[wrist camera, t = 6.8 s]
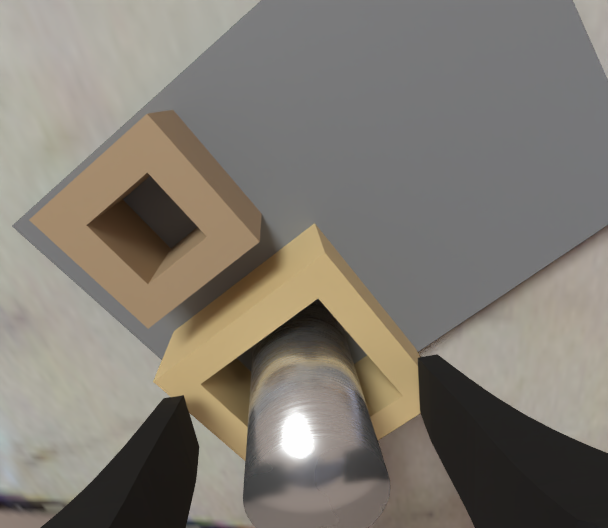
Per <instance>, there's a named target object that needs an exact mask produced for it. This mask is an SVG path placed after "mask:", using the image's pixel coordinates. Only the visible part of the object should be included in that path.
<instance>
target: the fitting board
mask: <svg viewBox="0 0 608 528" xmlns="http://www.w3.org/2000/svg"><path fill="white" fill-rule="evenodd" d="M607 225H608V80H607V77H606V75H605V73H604V71H603V68H602V66H601V64H600V61H599V59H598V57H597V55H596V52H595V50H594V48H593V45H592V43H591V41H590V39H589V36H588V34H587V32H586V30H585V27H584V25H583V23H582V20H581V18H580V16H579V14H578V11H577V9H576V7H575V5H574V2H573V0H261V1H260V2H259V3H258V4H257V5H256V6H255V7H253V8H252V9H251V10H250V11H249V12H248V13H247V14H246V15H245V16H243V17H242V18H241V19H240V20H239V21H238V22H237V23H236V24H235V25H234V26H232V27H231V28H230V29H229V30H228V31H227V32H226V33H225V34H224V35H222V36H221V37H220V38H219V39H218V40H217V41H216V42H215V43H214V44H213V45H211V46H210V47H209V48H208V49H207V50H206V51H205V52H204V53H203V54H201V55H200V56H199V57H198V58H197V59H196V60H195V61H194V62H193V63H192V64H190V65H189V66H188V67H187V68H186V69H185V70H184V71H183V72H182V73H180V74H179V75H178V76H177V77H176V78H175V79H174V80H173V81H172V82H171V83H169V84H168V85H167V86H166V87H165V88H164V89H163V90H162V91H161V92H159V93H158V94H157V95H156V96H155V97H154V98H153V99H152V100H151V101H150V102H148V103H147V104H146V105H145V106H144V107H143V108H142V109H141V110H140V111H138V112H137V113H136V114H135V115H134V116H133V117H132V118H131V119H130V120H129V121H127V122H126V123H125V124H124V125H123V126H122V127H121V128H120V129H119V130H117V131H116V132H115V133H114V134H113V135H112V136H111V137H110V138H109V139H108V140H106V141H105V142H104V143H103V144H102V145H101V146H100V147H99V148H98V149H96V150H95V151H94V152H93V153H92V154H91V155H90V156H89V157H88V158H87V159H85V160H84V161H83V162H82V163H81V164H80V165H79V166H78V167H77V168H75V169H74V170H73V171H72V172H71V173H70V174H69V175H68V176H67V177H66V178H64V179H63V180H62V181H61V182H60V183H59V184H58V185H57V186H56V187H54V188H53V189H52V190H51V191H50V192H49V193H48V194H47V195H46V196H45V197H43V198H42V199H41V200H40V201H39V202H38V203H37V204H36V205H35V206H33V207H32V208H31V209H30V210H29V211H28V212H27V213H26V214H25V215H24V216H22V217H21V218H20V219H19V220H18V221H17V222H16V223H15V224H14V225H12V227H13V228H15V229H16V230H17V231H18V232H19V233H20V234H21V235H22V236H24V237H25V238H26V239H27V240H28V241H29V242H30V243H31V244H32V245H34V246H35V247H36V248H37V249H38V250H39V251H40V252H41V253H43V254H44V255H45V256H46V257H47V258H48V259H49V260H50V261H52V262H53V263H54V264H55V265H56V266H57V267H58V268H59V269H60V270H62V271H63V272H64V273H65V274H66V275H67V276H68V277H69V278H71V279H72V280H73V281H74V282H75V283H76V284H77V285H78V286H80V287H81V288H82V289H83V290H84V291H85V292H86V293H87V294H88V295H90V296H91V297H92V298H93V299H94V300H95V301H96V302H97V303H99V304H100V305H101V306H102V307H103V308H104V309H105V310H106V311H108V312H109V313H110V314H111V315H112V316H113V317H114V318H115V319H116V320H118V321H119V322H120V323H121V324H122V325H123V326H124V327H125V328H127V329H128V330H129V331H130V332H131V333H132V334H133V335H134V336H136V337H137V338H138V339H139V340H140V341H141V342H142V343H143V344H144V345H146V346H147V347H148V348H149V349H150V350H151V351H152V352H153V353H155V354H156V355H157V356H158V357H159V358H160V359H161V360H162V361H161V364H160V366H159V369H158V371H157V374H156V376H155V379H154V381H153V382H154V383H155V384H157V385H158V386H159V387H160V388H161V389H162V390H163V391H165V392H166V393H167V394H168V395H169V396H170V397H176V396H182V395H184V398H185V401H186V404H187V408H188V411H189V413H190V414H191V415H192V416H194V417H195V418H196V419H197V420H198V421H199V422H201V423H202V424H203V425H204V426H205V427H206V428H208V429H209V430H210V431H211V432H212V433H213V434H215V435H216V436H217V437H218V438H219V439H220V440H221V441H223V442H224V443H225V444H226V445H227V446H228V447H230V448H231V449H232V450H233V451H234V452H235V453H237V454H238V455H239V456H240V457H241V458H242V459H244V460H245V461H246V445H247V430H248V415H249V399H250V384H251V369H252V354H253V345H255V344H256V343H258V342H259V341H260V340H262V339H263V338H264V337H266V336H267V335H269V334H270V333H271V332H273V331H274V330H275V329H277V328H278V327H280V326H281V325H282V324H284V323H285V322H286V321H288V320H289V319H291V318H292V317H293V316H295V315H296V314H297V313H299V312H300V311H301V310H303V309H304V308H306V307H307V306H308V305H310V304H311V303H312V302H314V301H315V300H320V301H321V302H322V303H323V304H324V306H325V307H326V308H327V309H328V310H329V311H330V313H331V314H332V315H333V316H334V317H335V318H336V319H337V321H338V322H339V323H340V324H341V325H342V328H343V331H344V334H345V337H346V341H347V344H348V347H349V350H350V354H351V357H352V360H353V363H354V366H355V370H356V373H357V376H358V379H359V382H360V386H361V389H362V392H363V395H364V399H365V402H366V405H367V408H368V411H369V415H370V418H371V421H372V424H373V427H374V431H375V434H376V437H377V440H379V439H381V438H382V437H384V436H386V435H387V434H389V433H390V432H392V431H393V430H395V429H397V428H398V427H400V426H401V425H403V424H404V423H406V422H407V421H409V420H411V419H412V418H414V417H415V416H417V415H418V414H420V413H421V412H420V400H419V377H418V358H419V357H420V355H419V353H418V351H420V350H421V349H423V348H424V347H426V346H427V345H429V344H430V343H432V342H433V341H435V340H436V339H438V338H439V337H441V336H442V335H444V334H445V333H447V332H448V331H450V330H451V329H453V328H454V327H456V326H457V325H459V324H460V323H462V322H463V321H465V320H466V319H468V318H469V317H471V316H472V315H474V314H475V313H477V312H478V311H480V310H481V309H483V308H484V307H486V306H487V305H489V304H490V303H492V302H493V301H495V300H496V299H498V298H499V297H501V296H502V295H504V294H505V293H507V292H508V291H510V290H511V289H513V288H514V287H516V286H517V285H519V284H520V283H522V282H523V281H525V280H526V279H528V278H529V277H531V276H532V275H534V274H535V273H537V272H538V271H540V270H541V269H543V268H544V267H546V266H547V265H549V264H550V263H551V262H553V261H554V260H556V259H557V258H559V257H560V256H562V255H563V254H565V253H566V252H568V251H569V250H571V249H572V248H574V247H575V246H577V245H578V244H580V243H581V242H583V241H584V240H586V239H587V238H589V237H590V236H592V235H593V234H595V233H596V232H598V231H599V230H601V229H602V228H604V227H605V226H607Z"/></svg>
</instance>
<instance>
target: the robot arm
mask: <svg viewBox="0 0 608 528" xmlns="http://www.w3.org/2000/svg"><path fill="white" fill-rule="evenodd" d="M418 377H419V400H420V412H421V415H422V418H423V421H424V423H425V426H426V429H427V431H428V434H429V437H430V439H431V442H432V444H433V446H434V448H435V450H436V452H437V454H438V456H439V458H440V459H441V461H442V463H443V465H444V467H445V469H446V471H447V473H448V475H449V477H450V479H451V481H452V483H453V485H454V486H455V488H456V490H457V492H458V494H459V496H460V498H461V500H462V502H463V504H464V506H465V508H466V510H467V512H468V514H469V516H470V518H471V520H472V522H473V524H474V527H475V528H608V453H606V452H603V451H601V450H598V449H596V448H593V447H591V446H589V445H586V444H584V443H582V442H579V441H577V440H575V439H572V438H570V437H568V436H566V435H564V434H562V433H559V432H557V431H555V430H553V429H551V428H549V427H547V426H545V425H544V424H542V423H540V422H538V421H536V420H534V419H532V418H530V417H528V416H527V415H525V414H523V413H521V412H520V411H518V410H516V409H515V408H513V407H511V406H510V405H508V404H506V403H505V402H503V401H502V400H500V399H498V398H497V397H495V396H494V395H492V394H491V393H489V392H488V391H486V390H485V389H483V388H482V387H481V386H479V385H478V384H476V383H475V382H473V381H472V380H471V379H469V378H468V377H467V376H465V375H464V374H463V373H461V372H460V371H459V370H457V369H456V368H455V367H453V366H452V365H451V364H449V363H448V362H447V361H445V360H444V359H443V358H441V357H440V356H439V355H432V356H425V357H419V358H418ZM198 455H199V444H198V441H197V438H196V434H195V431H194V428H193V424H192V421H191V418H190V414H189V411H188V408H187V404H186V401H185V398H184V395H182V396H176V397H169V398H164V399H163V400H162V401H161V402H160V403H159V405H158V406H157V407H156V408H155V410H154V411H153V412H152V413H151V414H150V416H149V417H148V418H147V419H146V421H145V422H144V423H143V424H142V426H141V427H140V428H139V429H138V430H137V432H136V433H135V434H134V435H133V436H132V438H131V439H130V440H129V441H128V442H127V444H126V445H125V446H124V447H123V448H122V449H121V451H120V452H119V453H118V454H117V455H116V456H115V457H114V458H113V459H112V460H111V461H110V463H109V464H108V465H107V466H106V467H105V468H104V469H103V470H102V471H101V472H100V473H99V475H98V476H97V477H96V478H95V479H94V480H93V481H92V482H91V483H90V484H89V485H88V486H87V487H86V488H85V489H84V490H83V491H82V492H81V493H79V494H78V495H77V496H76V497H75V498H74V499H73V500H72V501H71V502H70V503H69V504H68V505H67V506H66V507H64V508H63V509H62V510H61V511H60V512H59V513H58V514H56V515H55V516H54V517H53V518H52V519H50V520H49V521H48V522H47V523H46V524H44V525H43V526H42V527H41V528H186V523H187V519H188V515H189V510H190V506H191V501H192V497H193V492H194V487H195V483H196V476H197V466H198Z"/></svg>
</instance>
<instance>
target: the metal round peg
mask: <svg viewBox="0 0 608 528" xmlns="http://www.w3.org/2000/svg"><path fill="white" fill-rule="evenodd" d="M389 495H390V480H389V476H388V472H387V469H386V466H385V463H384V460H383V456H382V453H381V450H380V447H379V444H378V440H377V437H376V434H375V431H374V427H373V424H372V421H371V418H370V415H369V411H368V408H367V405H366V402H365V399H364V395H363V392H362V389H361V386H360V382H359V379H358V376H357V373H356V370H355V366H354V363H353V360H352V357H351V354H350V350H349V347H348V344H347V341H346V337H345V334H344V331H343V328H342V325H341V324H340V323H339V322H338V321H337V319H336V318H335V317H334V316H333V315H332V314H331V313H330V311H329V310H328V309H327V308H326V307H325V306H324V304H323V303H322V302H321V301H320V300H315V301H314V302H312V303H311V304H310V305H308V306H307V307H306V308H304V309H303V310H301V311H300V312H299V313H297V314H296V315H295V316H293V317H292V318H291V319H289V320H288V321H286V322H285V323H284V324H282V325H281V326H280V327H278V328H277V329H275V330H274V331H273V332H271V333H270V334H269V335H267V336H266V337H264V338H263V339H262V340H260V341H259V342H258V343H256V344H255V345H253V354H252V369H251V384H250V399H249V415H248V430H247V445H246V461H245V476H244V491H243V503H244V508H245V512H246V514H247V516H248V518H249V519H250V521H251V522H252V524H253V525H254V526H255V527H256V528H368V527H369V526H371V525H372V524H373V523H374V522H375V521H376V520H377V519H378V517H379V516H380V515H381V513H382V512H383V510H384V509H385V507H386V504H387V502H388V499H389Z"/></svg>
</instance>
